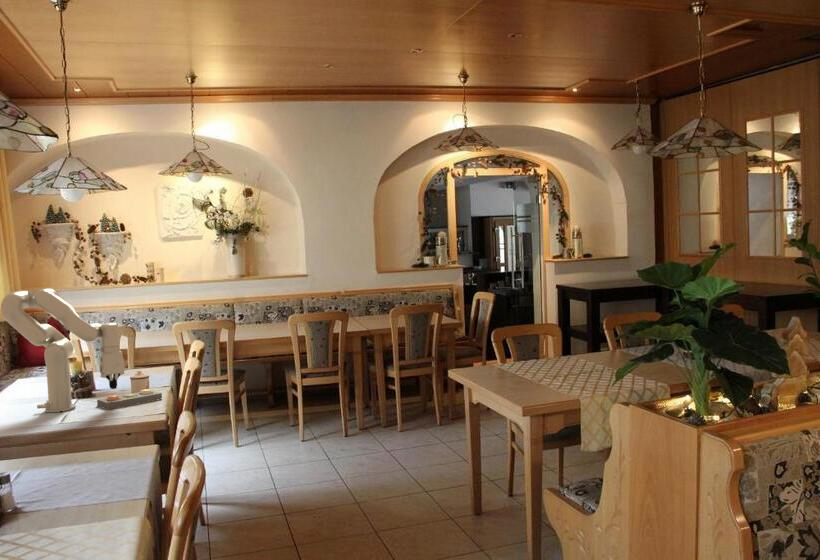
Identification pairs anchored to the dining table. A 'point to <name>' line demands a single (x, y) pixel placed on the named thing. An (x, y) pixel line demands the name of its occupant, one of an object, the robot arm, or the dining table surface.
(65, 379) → the robot arm
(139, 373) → the teacup with lid
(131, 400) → the button panel
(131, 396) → the sage button
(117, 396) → the terracotta button
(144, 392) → the cream button
